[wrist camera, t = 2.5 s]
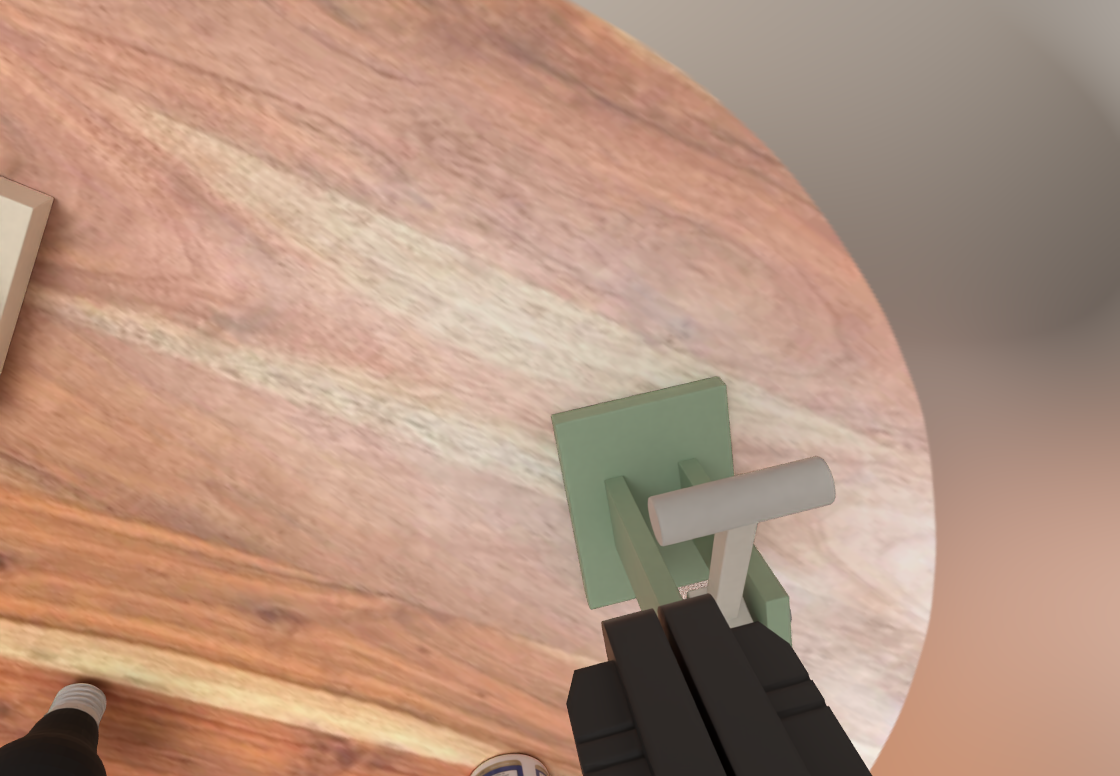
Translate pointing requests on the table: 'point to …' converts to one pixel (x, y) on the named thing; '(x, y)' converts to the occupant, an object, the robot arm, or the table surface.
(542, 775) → the pill bottle
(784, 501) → the hinged lever
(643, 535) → the green stand
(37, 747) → the light bulb
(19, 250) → the button block
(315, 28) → the table surface
